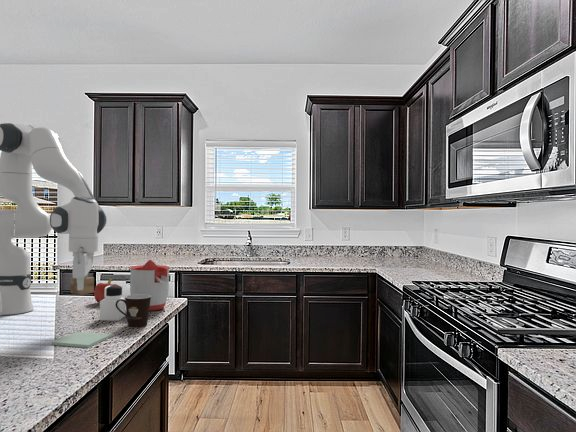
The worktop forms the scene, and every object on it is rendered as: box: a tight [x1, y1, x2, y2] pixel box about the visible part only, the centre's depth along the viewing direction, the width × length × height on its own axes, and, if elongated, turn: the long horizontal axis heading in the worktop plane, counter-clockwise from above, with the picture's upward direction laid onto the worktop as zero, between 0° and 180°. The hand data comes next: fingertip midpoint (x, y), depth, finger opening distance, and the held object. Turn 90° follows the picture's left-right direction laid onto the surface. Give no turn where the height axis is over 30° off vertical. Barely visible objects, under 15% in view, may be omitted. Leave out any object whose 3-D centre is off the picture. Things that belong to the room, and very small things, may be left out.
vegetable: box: [93, 278, 120, 304], centre depth 193 cm, size 11×10×10 cm
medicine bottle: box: [99, 284, 126, 322], centre depth 166 cm, size 7×7×12 cm
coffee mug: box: [116, 294, 151, 328], centre depth 158 cm, size 12×9×10 cm
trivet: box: [51, 331, 112, 349], centre depth 138 cm, size 12×12×1 cm
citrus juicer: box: [129, 259, 171, 312], centre depth 184 cm, size 16×17×20 cm
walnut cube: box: [70, 275, 95, 296], centre depth 150 cm, size 5×5×5 cm
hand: (82, 287), depth 150 cm, fingers closed on walnut cube, 7 cm apart
